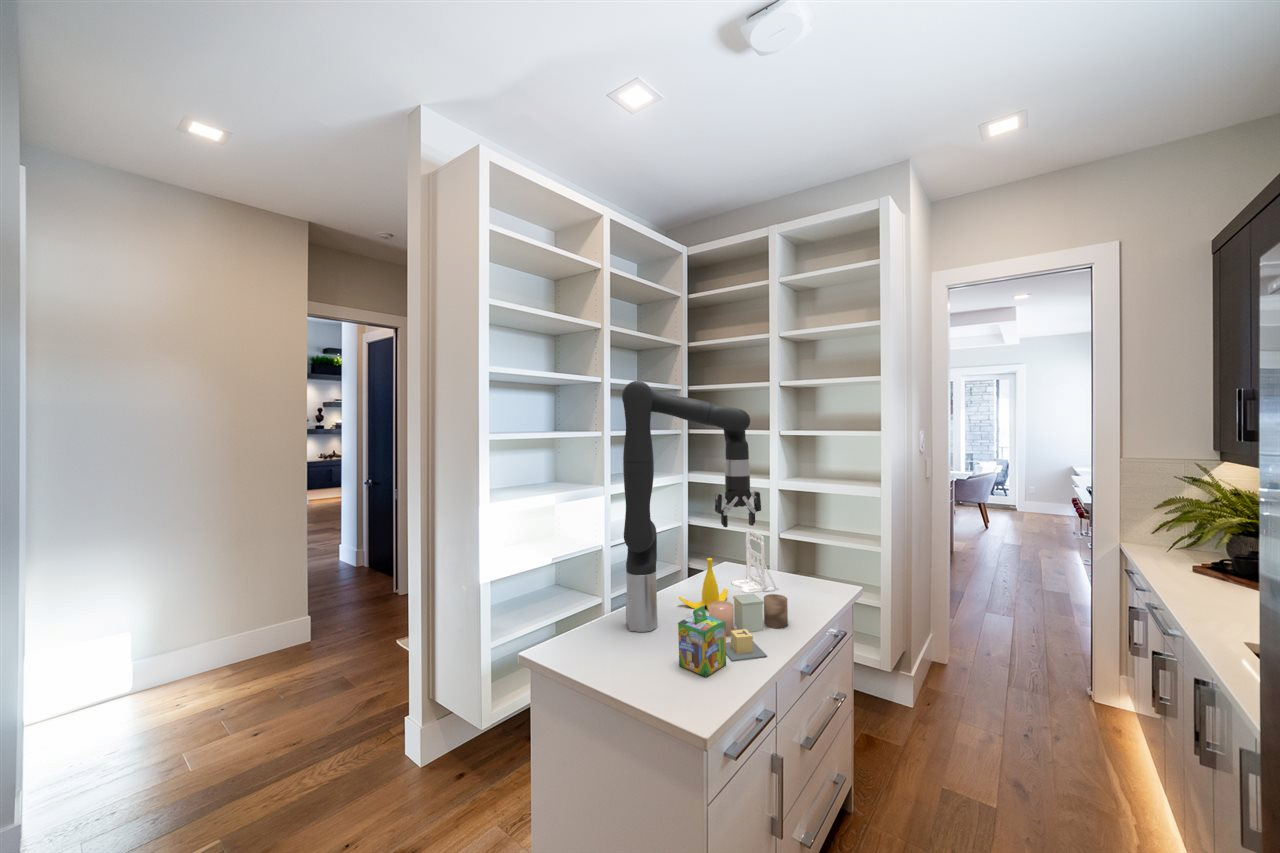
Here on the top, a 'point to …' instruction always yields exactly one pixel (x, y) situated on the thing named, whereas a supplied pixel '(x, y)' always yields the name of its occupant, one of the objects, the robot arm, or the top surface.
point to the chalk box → (702, 643)
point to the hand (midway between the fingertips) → (738, 526)
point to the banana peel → (708, 590)
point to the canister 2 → (775, 611)
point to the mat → (745, 656)
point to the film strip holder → (752, 562)
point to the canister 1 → (723, 614)
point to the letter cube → (741, 641)
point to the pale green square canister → (748, 612)
